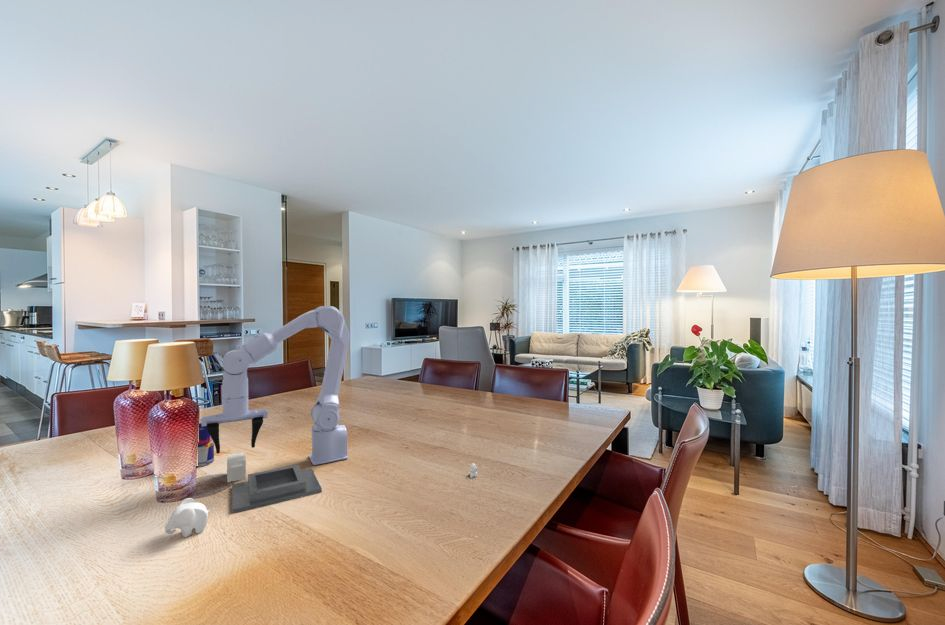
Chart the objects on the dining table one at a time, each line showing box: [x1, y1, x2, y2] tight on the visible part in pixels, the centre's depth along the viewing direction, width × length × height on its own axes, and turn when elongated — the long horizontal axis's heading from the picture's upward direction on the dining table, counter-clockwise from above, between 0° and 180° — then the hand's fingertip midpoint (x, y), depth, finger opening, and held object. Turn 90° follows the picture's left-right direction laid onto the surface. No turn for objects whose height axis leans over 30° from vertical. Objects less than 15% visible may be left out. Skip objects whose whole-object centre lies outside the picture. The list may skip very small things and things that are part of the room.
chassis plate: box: [231, 464, 323, 514], centre depth 93 cm, size 18×14×3 cm
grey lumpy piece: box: [468, 462, 479, 478], centre depth 101 cm, size 3×3×3 cm
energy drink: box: [197, 418, 215, 468], centre depth 109 cm, size 5×5×12 cm
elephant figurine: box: [164, 497, 215, 538], centre depth 75 cm, size 7×8×6 cm
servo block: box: [226, 452, 247, 483], centre depth 101 cm, size 4×8×5 cm, turn 32°
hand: (235, 449), depth 101 cm, fingers open, 7 cm apart
